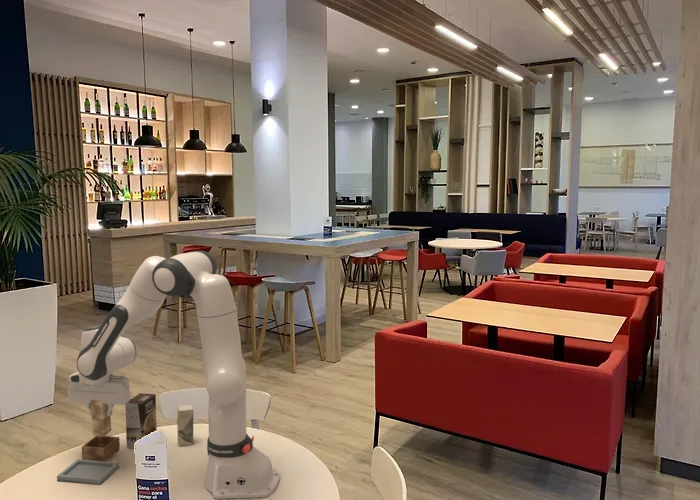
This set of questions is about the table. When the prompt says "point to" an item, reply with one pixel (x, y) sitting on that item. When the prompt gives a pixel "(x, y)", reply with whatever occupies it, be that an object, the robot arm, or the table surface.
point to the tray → (88, 472)
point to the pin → (100, 418)
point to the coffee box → (140, 417)
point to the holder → (100, 448)
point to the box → (185, 425)
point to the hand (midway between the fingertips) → (101, 415)
